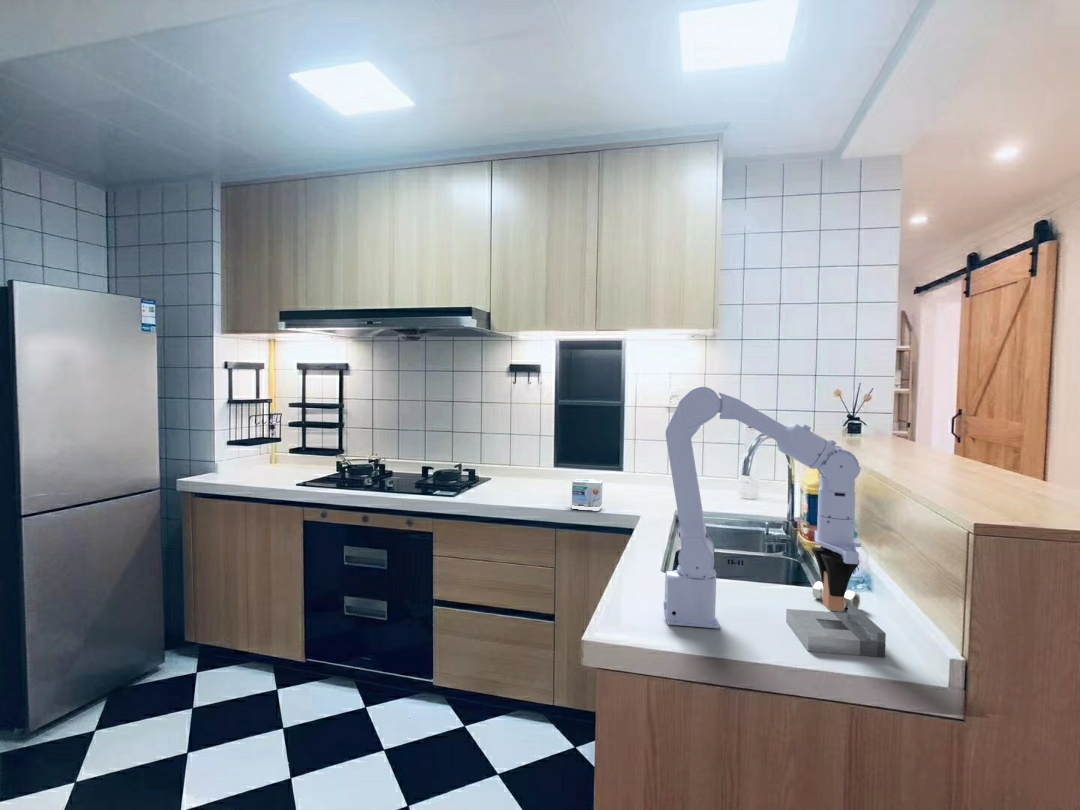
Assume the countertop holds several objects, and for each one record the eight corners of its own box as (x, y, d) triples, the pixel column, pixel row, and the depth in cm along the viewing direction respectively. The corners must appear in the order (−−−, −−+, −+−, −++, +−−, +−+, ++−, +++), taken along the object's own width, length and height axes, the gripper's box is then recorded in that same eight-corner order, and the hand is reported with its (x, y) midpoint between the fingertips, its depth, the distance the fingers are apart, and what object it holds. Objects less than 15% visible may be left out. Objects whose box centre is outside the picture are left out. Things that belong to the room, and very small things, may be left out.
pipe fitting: (842, 618, 107) (860, 609, 111) (842, 599, 107) (860, 590, 111) (803, 605, 114) (821, 596, 118) (803, 586, 114) (821, 578, 118)
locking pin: (828, 609, 96) (829, 575, 96) (822, 604, 98) (823, 570, 98) (844, 610, 95) (845, 576, 95) (838, 605, 98) (839, 571, 98)
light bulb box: (571, 510, 201) (571, 480, 201) (574, 506, 207) (574, 478, 207) (600, 512, 198) (600, 482, 198) (602, 508, 205) (602, 479, 205)
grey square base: (807, 651, 92) (808, 627, 92) (786, 621, 104) (786, 600, 104) (885, 657, 90) (885, 633, 90) (853, 627, 102) (854, 605, 102)
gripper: (879, 526, 89) (877, 610, 89) (843, 508, 103) (841, 580, 103) (833, 524, 90) (830, 606, 90) (803, 506, 104) (801, 577, 104)
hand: (833, 592), depth 97 cm, fingers closed on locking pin, 3 cm apart
